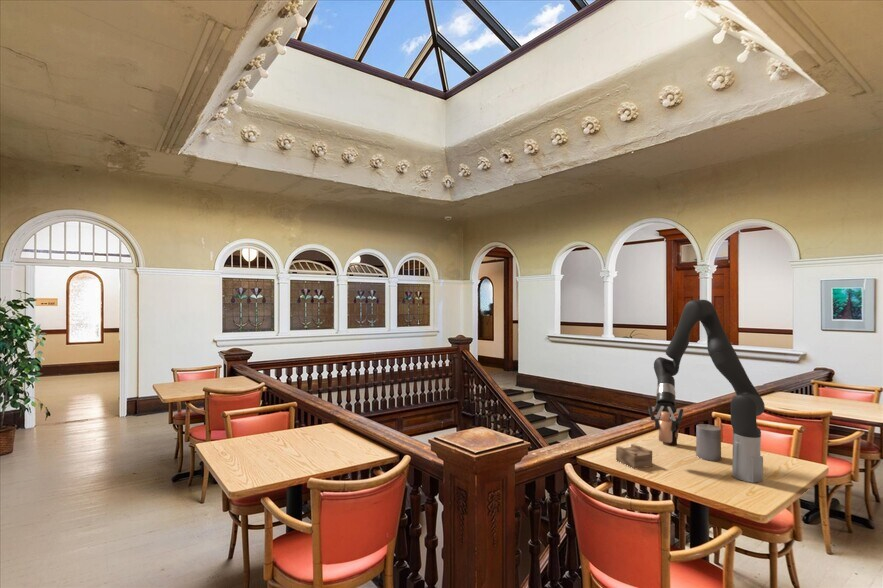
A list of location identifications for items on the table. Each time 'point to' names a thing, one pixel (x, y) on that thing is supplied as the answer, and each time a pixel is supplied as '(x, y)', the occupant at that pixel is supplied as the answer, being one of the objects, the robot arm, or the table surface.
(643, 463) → the pedestal
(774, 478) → the table surface
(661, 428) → the peg doll
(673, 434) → the coffee cup
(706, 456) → the pillar candle
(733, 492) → the table surface
